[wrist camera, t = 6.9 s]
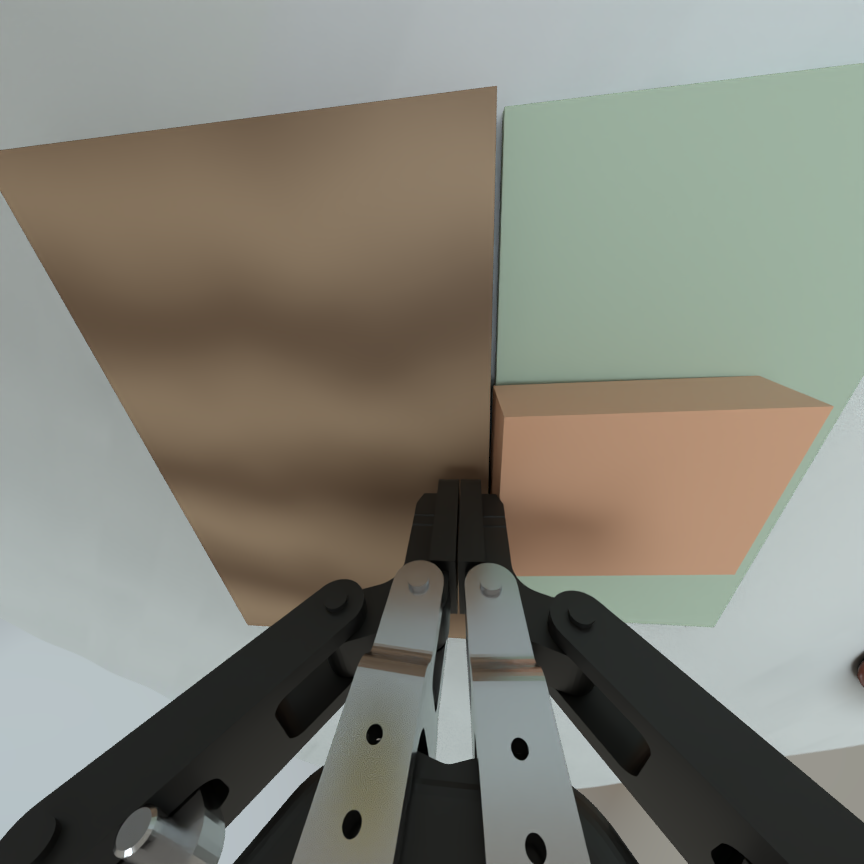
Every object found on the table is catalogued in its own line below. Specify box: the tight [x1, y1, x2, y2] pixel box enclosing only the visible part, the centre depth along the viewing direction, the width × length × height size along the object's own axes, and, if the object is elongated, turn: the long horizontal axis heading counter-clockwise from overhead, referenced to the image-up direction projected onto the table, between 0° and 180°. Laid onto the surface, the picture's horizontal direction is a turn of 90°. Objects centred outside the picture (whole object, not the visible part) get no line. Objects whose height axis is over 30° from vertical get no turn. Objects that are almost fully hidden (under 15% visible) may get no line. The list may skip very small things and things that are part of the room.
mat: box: [495, 63, 864, 627], centre depth 14 cm, size 22×12×1 cm, turn 4°
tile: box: [489, 376, 834, 576], centre depth 12 cm, size 7×9×2 cm
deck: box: [0, 86, 497, 639], centre depth 14 cm, size 22×14×2 cm, turn 4°
